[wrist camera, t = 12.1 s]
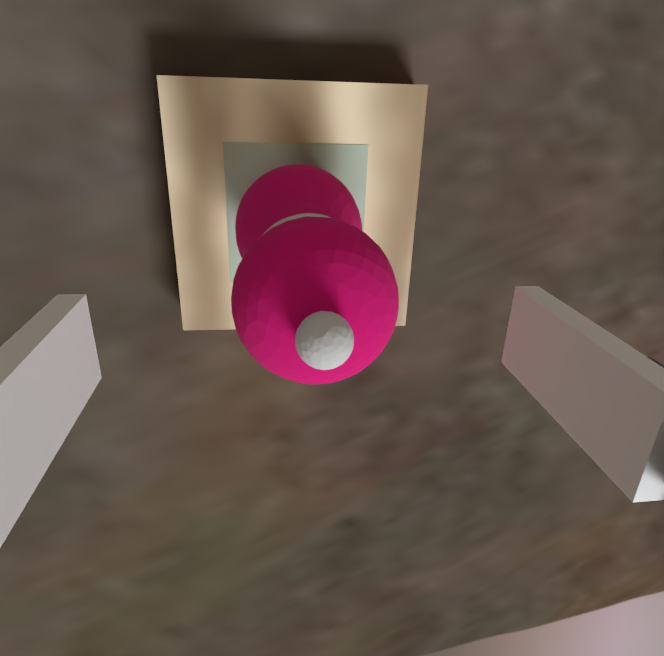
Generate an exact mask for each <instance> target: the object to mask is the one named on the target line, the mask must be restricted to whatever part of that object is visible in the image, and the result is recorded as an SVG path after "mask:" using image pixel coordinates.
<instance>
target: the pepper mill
mask: <svg viewBox="0 0 664 656" xmlns="http://www.w3.org/2000/svg"><path fill="white" fill-rule="evenodd" d="M235 232H236V242H237V246H238V249H239V253H240V255H241V257H242V260H241V262H240V264H239V265H238V268H237V271H236V274H235V277H234V280H233V287H232V295H231V307H232V316H233V320H234V324H235V328H236V331H237V333H238V335H239V337H240V339H241V342H242V343H243V345H244V346H245V348H246V349H247V350H248V352H249V353H250V355H251V356H252V357H253V358H254V359H255V360H256V361H257V362H259V363H260V364H261V365H262V366H264V367H265V368H266V369H267V370H269V371H270V372H272V373H274V374H276V375H278V376H280V377H283V378H285V379H288V380H291V381H294V382H299V383H305V384H326V383H332V382H337V381H340V380H343V379H345V378H348V377H351V376H353V375H355V374H357V373H358V372H360V371H361V370H363V369H364V368H365V367H367V366H368V365H369V364H371V363H372V362H373V361H374V359H375V358H376V357H377V356H378V355H379V354H380V353H381V352H382V350H383V349H384V347H385V346H386V344H387V343H388V341H389V339H390V337H391V335H392V333H393V331H394V328H395V325H396V321H397V317H398V311H399V293H398V286H397V282H396V279H395V275H394V272H393V269H392V267H391V264H390V262H389V260H388V258H387V256H386V255H385V254H384V252H383V251H382V249H381V248H380V246H379V245H377V244H376V243H375V242H374V241H373V240H372V239H371V238H370V237H369V236H368V235H367V234H366V233H364V232H363V231H362V222H361V217H360V212H359V209H358V207H357V205H356V203H355V200H354V198H353V196H352V194H351V193H350V192H349V190H348V189H347V187H346V186H345V185H344V184H343V183H342V182H341V181H340V180H339V179H338V178H336V177H335V176H333V175H332V174H331V173H329V172H327V171H325V170H323V169H320V168H317V167H314V166H310V165H302V164H295V165H286V166H281V167H278V168H276V169H273V170H271V171H269V172H267V173H265V174H264V175H262V176H261V177H260V178H258V179H257V180H256V181H255V182H254V183H253V184H252V185H251V186H250V187H249V188H248V189H247V191H246V193H245V194H244V196H243V197H242V200H241V202H240V204H239V207H238V210H237V215H236V223H235Z"/></svg>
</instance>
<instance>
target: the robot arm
mask: <svg viewBox="0 0 664 656" xmlns="http://www.w3.org/2000/svg"><path fill="white" fill-rule="evenodd" d="M501 362H502V363H503V364H504V366H505V367H506V368H507V369H508V370H509V371H510V372H511V373H512V374H513V375H514V376H515V377H516V378H517V379H518V380H519V382H520V383H521V384H522V385H523V386H524V387H525V388H526V389H527V390H528V391H529V392H530V393H531V394H532V395H533V397H534V398H535V399H536V400H537V401H538V402H539V403H540V404H541V405H542V406H543V407H544V408H545V409H546V410H547V411H548V413H549V414H550V415H551V416H552V417H553V418H554V419H555V420H556V421H557V422H558V423H559V424H560V425H561V426H562V427H563V429H564V430H565V431H566V432H567V433H568V434H569V435H570V436H571V437H572V438H573V439H574V440H575V441H576V442H577V444H578V445H579V446H580V447H581V448H582V449H583V450H584V451H585V452H586V453H587V454H588V455H589V456H590V457H591V458H592V460H593V461H594V462H595V463H596V464H597V465H598V466H599V467H600V468H601V469H602V470H603V471H604V472H605V473H606V474H607V476H608V477H609V478H610V479H611V480H612V481H613V482H614V483H615V484H616V485H617V486H618V487H619V488H620V489H621V490H622V492H623V493H624V494H625V495H626V496H627V497H628V498H629V499H630V500H631V501H632V502H644V501H657V500H664V366H663V365H661V364H660V363H658V362H657V361H655V360H654V359H652V358H649V357H647V356H645V355H643V354H642V353H640V352H639V351H637V350H636V349H634V348H632V347H631V346H629V345H628V344H626V343H625V342H623V341H622V340H620V339H619V338H617V337H616V336H614V335H612V334H611V333H609V332H608V331H606V330H605V329H603V328H602V327H600V326H599V325H597V324H595V323H594V322H592V321H591V320H589V319H588V318H586V317H585V316H583V315H582V314H580V313H579V312H577V311H575V310H574V309H572V308H571V307H569V306H568V305H566V304H565V303H563V302H562V301H560V300H559V299H557V298H555V297H554V296H552V295H551V294H549V293H548V292H546V291H545V290H543V289H542V288H540V287H539V286H517V287H516V288H515V293H514V298H513V303H512V309H511V314H510V319H509V324H508V330H507V335H506V340H505V345H504V351H503V356H502V361H501ZM101 378H102V377H101V372H100V366H99V361H98V356H97V351H96V345H95V340H94V335H93V329H92V324H91V319H90V314H89V308H88V303H87V298H86V294H68V295H57V296H56V297H54V298H53V299H52V300H51V301H50V302H49V303H48V304H47V305H46V306H45V307H44V308H42V309H41V310H40V311H39V312H38V313H37V314H36V315H35V316H34V317H33V318H32V319H30V320H29V321H28V322H27V323H26V324H25V325H24V326H23V327H22V328H21V329H20V330H18V331H17V332H16V333H15V334H14V335H13V336H12V337H11V338H10V339H9V340H7V341H6V342H5V343H4V344H3V345H2V346H1V347H0V547H1V546H2V544H3V542H4V541H5V539H6V537H7V536H8V534H9V532H10V531H11V529H12V527H13V526H14V524H15V522H16V521H17V519H18V517H19V516H20V514H21V512H22V511H23V509H24V507H25V505H26V504H27V502H28V500H29V499H30V497H31V495H32V494H33V492H34V490H35V489H36V487H37V485H38V484H39V482H40V480H41V479H42V477H43V475H44V474H45V472H46V470H47V469H48V467H49V465H50V463H51V462H52V460H53V458H54V457H55V455H56V453H57V452H58V450H59V448H60V447H61V445H62V443H63V442H64V440H65V438H66V437H67V435H68V433H69V432H70V430H71V428H72V426H73V425H74V423H75V421H76V420H77V418H78V416H79V415H80V413H81V411H82V410H83V408H84V406H85V405H86V403H87V401H88V400H89V398H90V396H91V395H92V393H93V391H94V390H95V388H96V386H97V384H98V383H99V381H100V379H101Z"/></svg>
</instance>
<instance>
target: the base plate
mask: <svg viewBox="0 0 664 656" xmlns="http://www.w3.org/2000/svg"><path fill="white" fill-rule="evenodd" d="M157 84H158V94H159V103H160V113H161V122H162V132H163V141H164V151H165V161H166V170H167V180H168V189H169V199H170V208H171V218H172V227H173V237H174V246H175V256H176V265H177V275H178V284H179V294H180V303H181V313H182V323H183V330H220V329H236V328H235V324H234V320H233V316H232V307H231V295H232V287H233V280H234V277H235V274H236V271H237V268H238V265H239V264H240V262H241V260H242V257H241V255H240V253H239V249H238V246H237V242H236V232H235V223H236V215H237V210H238V207H239V204H240V202H241V200H242V197H243V196H244V194H245V193H246V191H247V189H248V188H249V187H250V186H251V185H252V184H253V183H254V182H255V181H256V180H257V179H258V178H260V177H261V176H262V175H264V174H265V173H267V172H269V171H271V170H273V169H276V168H278V167H281V166H286V165H295V164H302V165H310V166H314V167H317V168H320V169H323V170H325V171H327V172H329V173H331V174H332V175H333V176H335V177H336V178H338V179H339V180H340V181H341V182H342V183H343V184H344V185H345V186H346V187H347V189H348V190H349V192H350V193H351V194H352V196H353V198H354V200H355V203H356V205H357V207H358V209H359V212H360V217H361V222H362V231H363V232H364V233H366V234H367V235H368V236H369V237H370V238H371V239H372V240H373V241H374V242H375V243H376V244H377V245H379V246H380V248H381V249H382V251H383V252H384V254H385V255H386V256H387V258H388V260H389V262H390V264H391V267H392V269H393V272H394V275H395V279H396V282H397V286H398V293H399V311H398V317H397V321H396V325H395V326H405V323H406V312H407V302H408V291H409V280H410V270H411V259H412V249H413V238H414V228H415V217H416V207H417V196H418V186H419V175H420V165H421V154H422V143H423V133H424V122H425V112H426V101H427V91H428V85H415V84H388V83H360V82H333V81H305V80H277V79H250V78H222V77H195V76H167V75H157Z"/></svg>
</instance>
